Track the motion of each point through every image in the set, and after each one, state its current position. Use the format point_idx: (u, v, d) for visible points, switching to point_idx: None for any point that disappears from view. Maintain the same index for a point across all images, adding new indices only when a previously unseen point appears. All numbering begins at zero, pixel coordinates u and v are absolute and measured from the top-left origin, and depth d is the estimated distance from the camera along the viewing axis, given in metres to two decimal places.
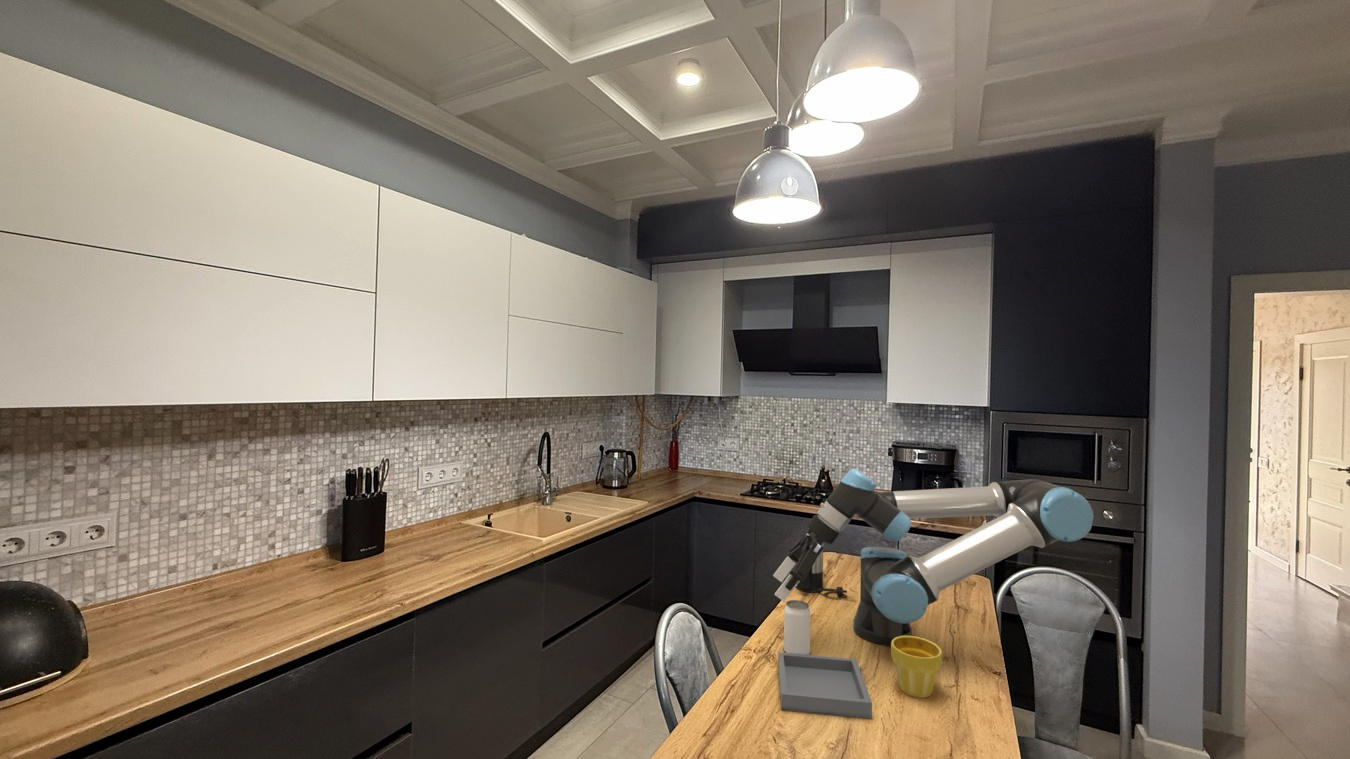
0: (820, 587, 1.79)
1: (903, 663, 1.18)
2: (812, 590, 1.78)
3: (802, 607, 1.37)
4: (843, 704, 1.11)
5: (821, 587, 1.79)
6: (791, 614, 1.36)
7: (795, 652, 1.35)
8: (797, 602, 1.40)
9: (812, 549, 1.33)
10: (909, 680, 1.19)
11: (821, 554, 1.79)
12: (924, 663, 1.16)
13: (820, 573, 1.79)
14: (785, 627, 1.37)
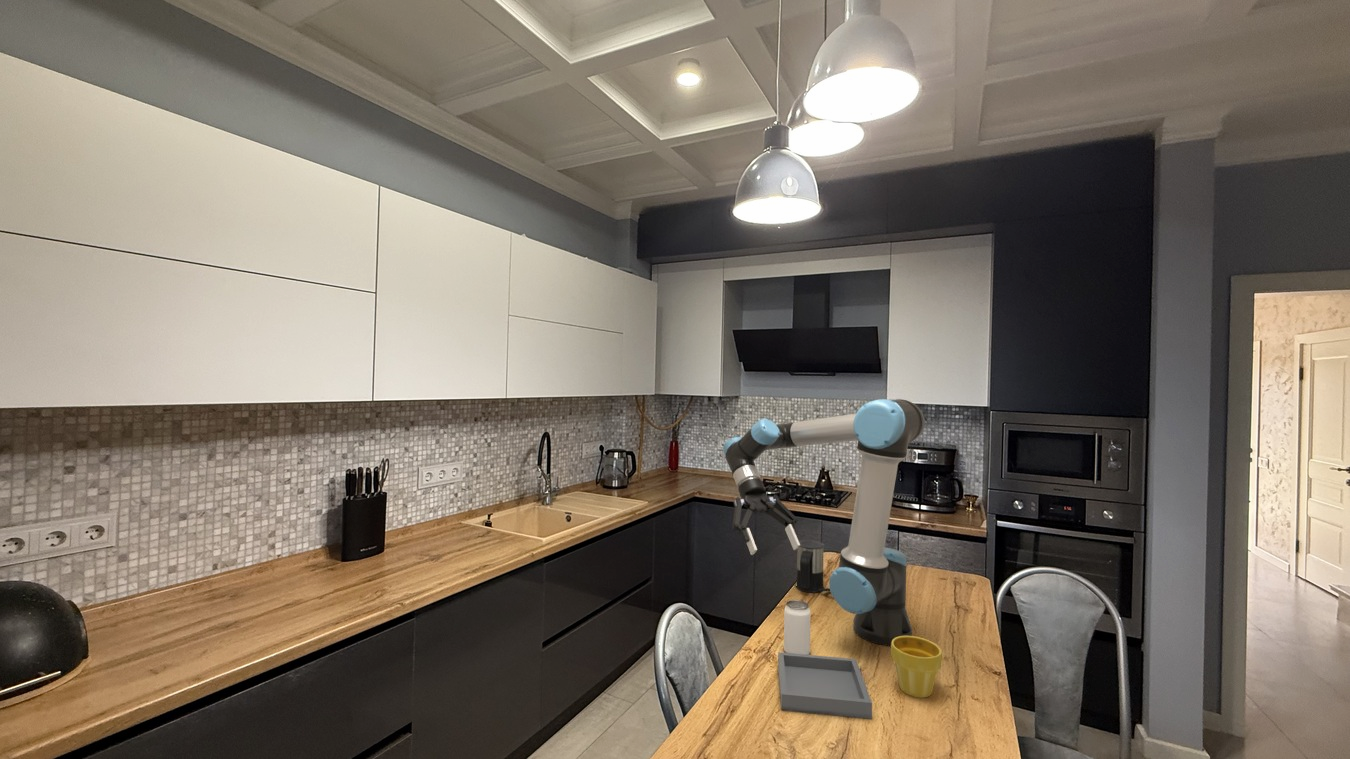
0: (820, 587, 1.79)
1: (903, 663, 1.19)
2: (812, 590, 1.78)
3: (802, 607, 1.37)
4: (843, 704, 1.11)
5: (821, 587, 1.79)
6: (791, 614, 1.36)
7: (795, 652, 1.35)
8: (797, 602, 1.40)
9: (735, 506, 1.55)
10: (909, 680, 1.19)
11: (821, 554, 1.79)
12: (924, 663, 1.16)
13: (820, 573, 1.79)
14: (785, 627, 1.37)
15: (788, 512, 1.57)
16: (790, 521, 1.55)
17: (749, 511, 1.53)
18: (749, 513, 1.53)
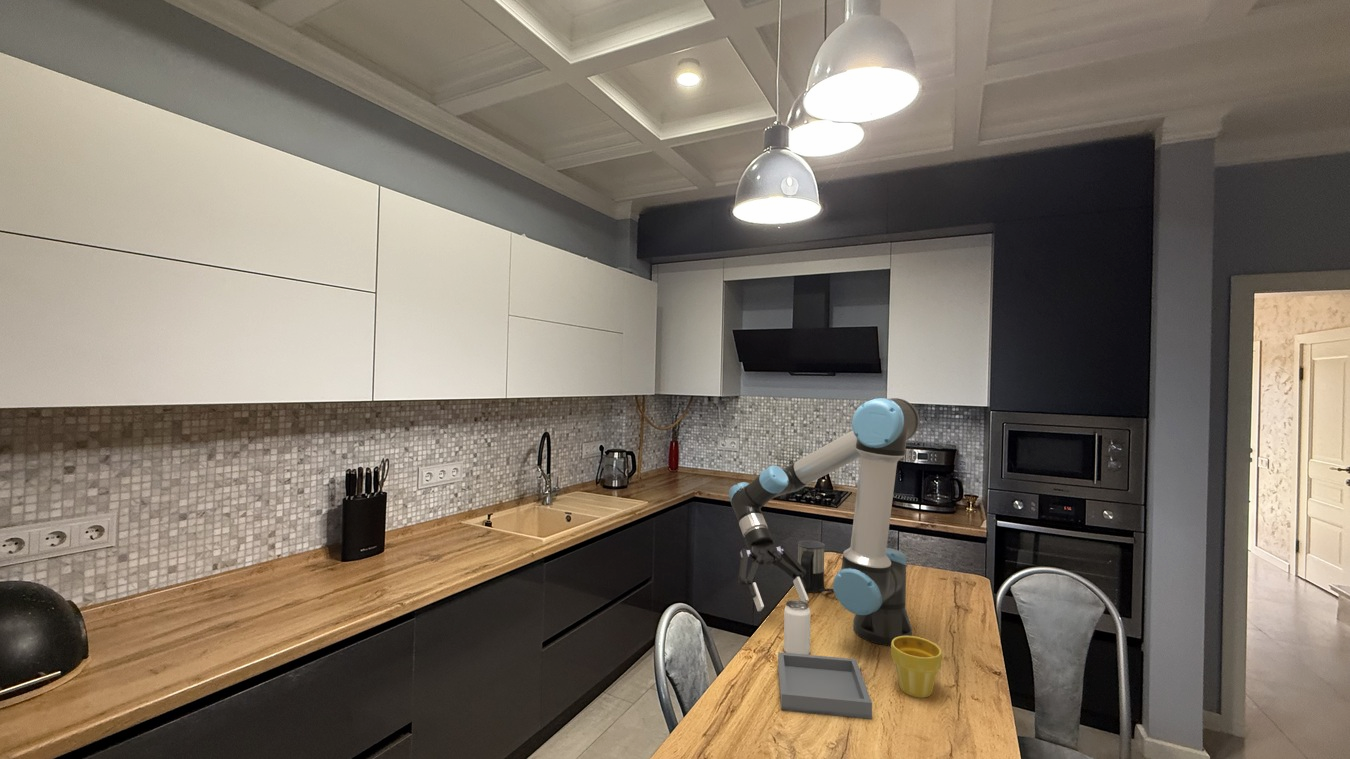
0: (821, 587, 1.79)
1: (903, 663, 1.18)
2: (813, 590, 1.78)
3: (802, 607, 1.37)
4: (843, 704, 1.11)
5: (822, 587, 1.79)
6: (791, 614, 1.36)
7: (795, 652, 1.35)
8: (797, 602, 1.40)
9: (741, 558, 1.50)
10: (909, 680, 1.19)
11: (822, 554, 1.79)
12: (924, 663, 1.16)
13: (821, 573, 1.79)
14: (785, 627, 1.37)
15: (796, 563, 1.52)
16: (798, 573, 1.49)
17: (755, 563, 1.48)
18: (755, 566, 1.48)
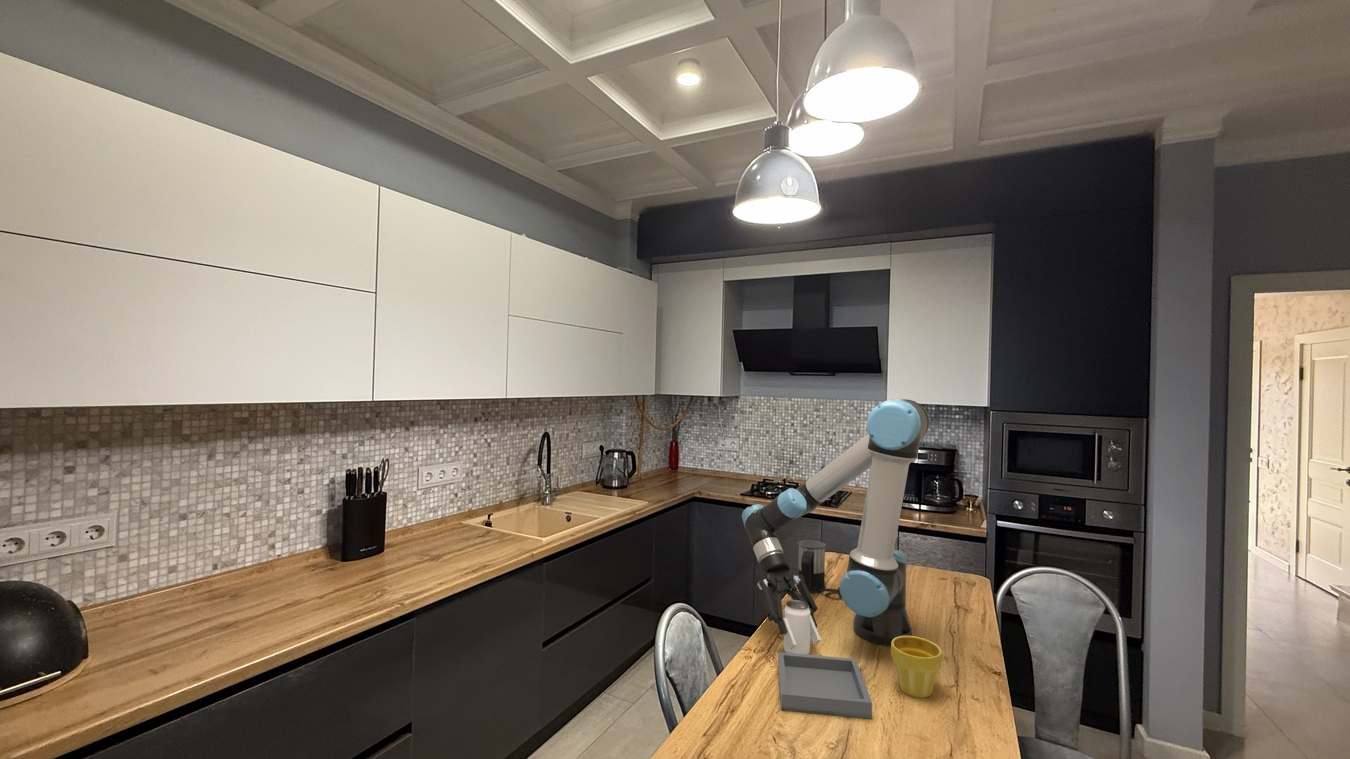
0: (822, 587, 1.79)
1: (903, 663, 1.19)
2: (814, 590, 1.78)
3: (802, 607, 1.37)
4: (843, 704, 1.11)
5: (823, 587, 1.79)
6: (791, 614, 1.36)
7: (795, 652, 1.35)
8: (797, 602, 1.40)
9: (760, 590, 1.43)
10: (909, 680, 1.19)
11: (823, 554, 1.79)
12: (924, 663, 1.16)
13: (822, 573, 1.79)
14: None
15: (809, 597, 1.43)
16: None
17: (778, 594, 1.41)
18: (779, 597, 1.41)
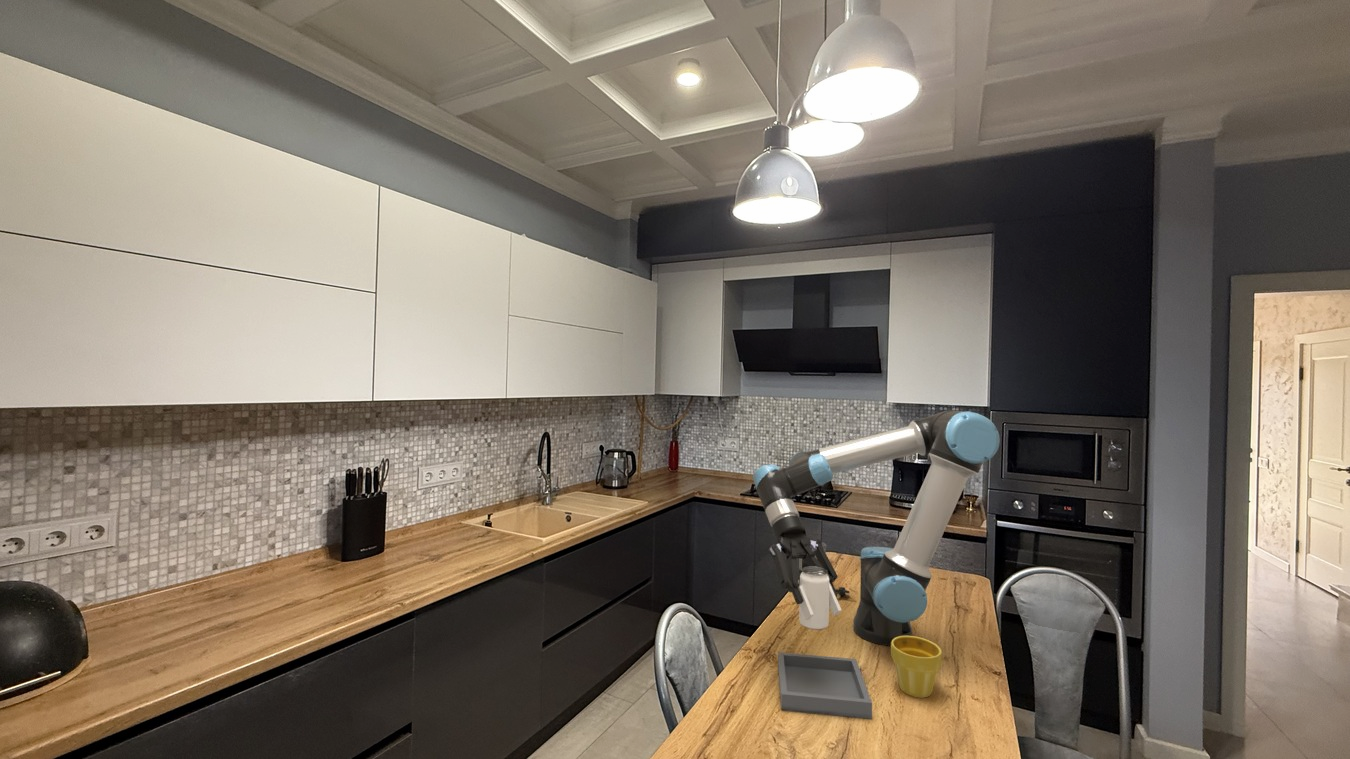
0: None
1: (903, 663, 1.18)
2: None
3: (820, 573, 1.22)
4: (843, 704, 1.11)
5: None
6: (808, 581, 1.20)
7: (812, 623, 1.20)
8: (814, 569, 1.25)
9: (773, 556, 1.28)
10: (909, 680, 1.19)
11: None
12: (924, 663, 1.16)
13: None
14: None
15: (828, 564, 1.28)
16: None
17: (793, 560, 1.26)
18: (794, 563, 1.25)
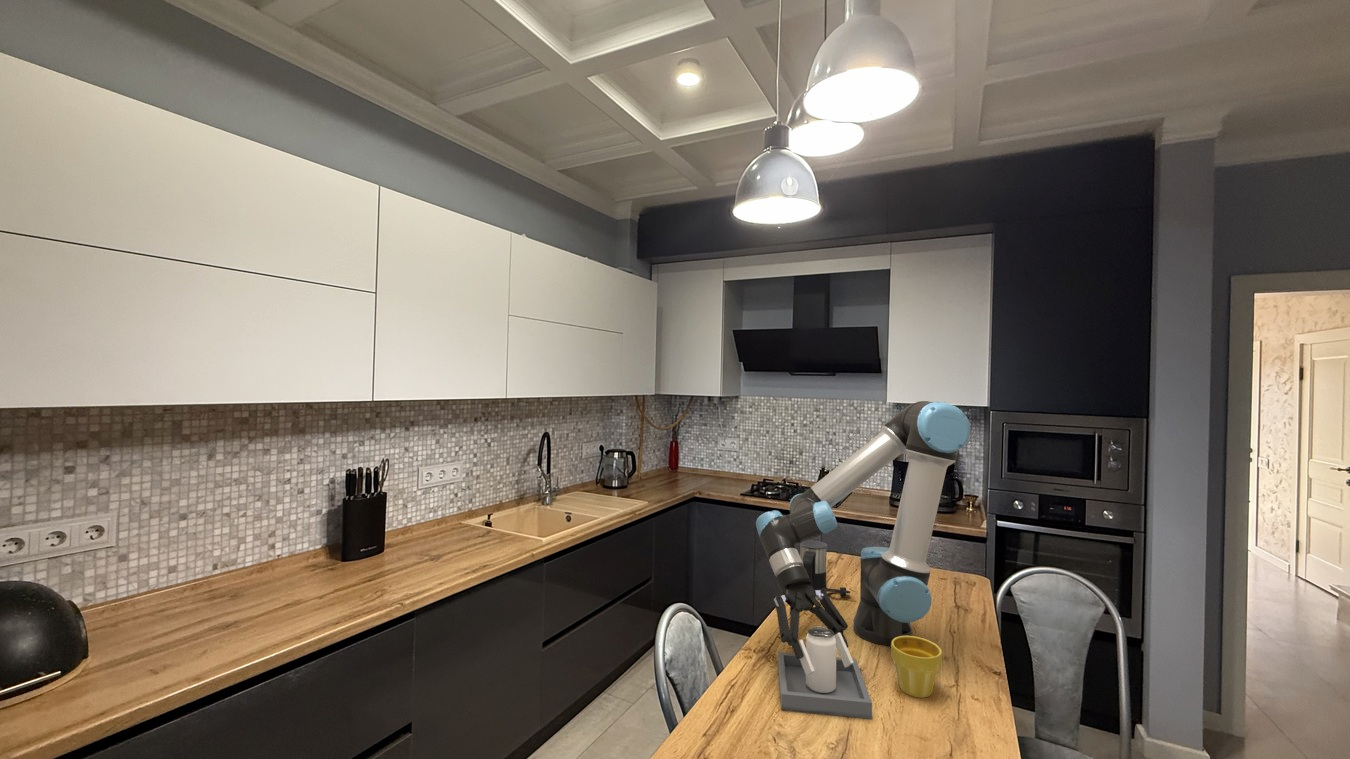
0: (823, 587, 1.79)
1: (903, 663, 1.18)
2: None
3: (827, 635, 1.20)
4: (843, 704, 1.11)
5: (824, 587, 1.79)
6: (815, 644, 1.18)
7: (819, 688, 1.18)
8: (820, 629, 1.23)
9: (776, 607, 1.26)
10: (909, 680, 1.19)
11: (824, 554, 1.79)
12: (924, 663, 1.16)
13: (823, 573, 1.79)
14: None
15: (837, 614, 1.27)
16: (839, 628, 1.24)
17: (796, 613, 1.24)
18: (797, 616, 1.23)
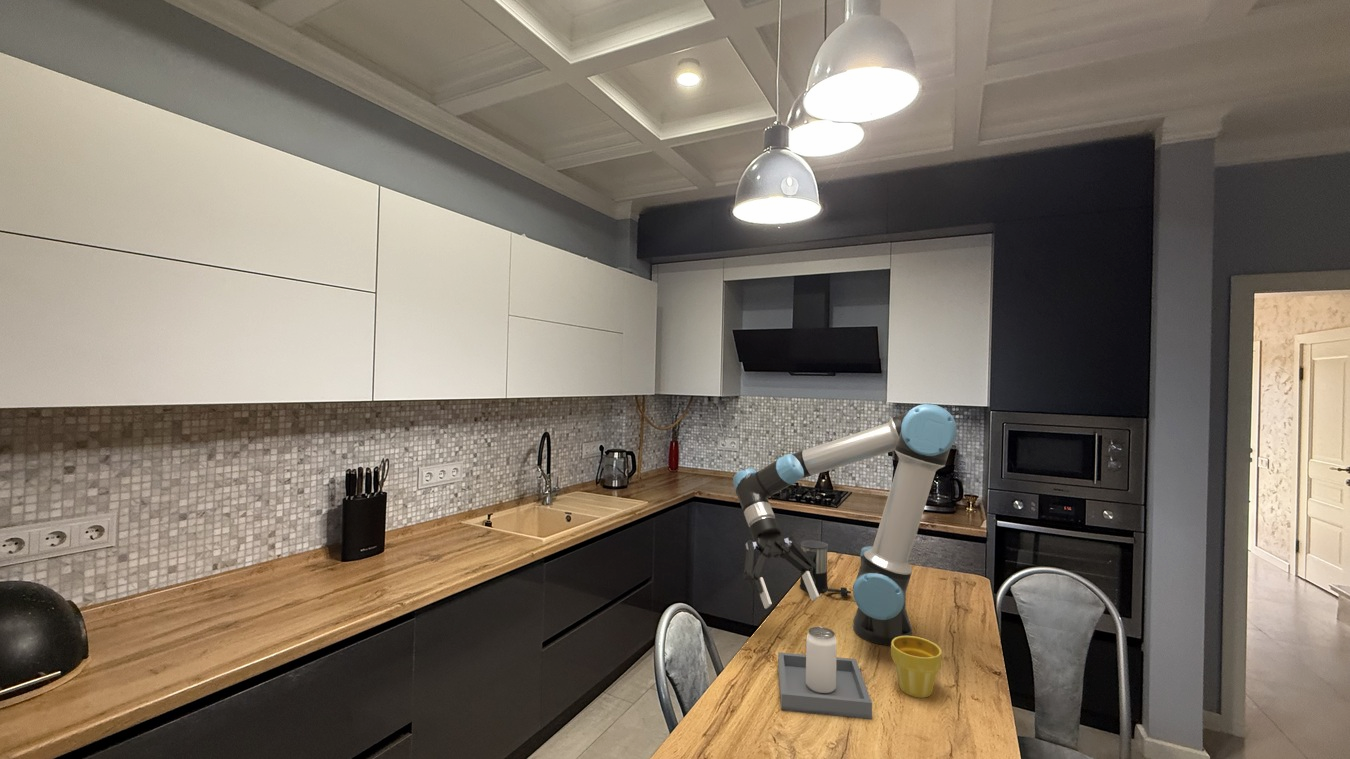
0: (824, 587, 1.78)
1: (903, 663, 1.18)
2: None
3: (827, 635, 1.20)
4: (843, 704, 1.11)
5: (825, 587, 1.79)
6: (815, 644, 1.18)
7: (819, 688, 1.18)
8: (821, 629, 1.23)
9: (746, 550, 1.39)
10: (909, 680, 1.19)
11: (825, 554, 1.79)
12: (924, 663, 1.16)
13: (824, 573, 1.79)
14: (808, 658, 1.20)
15: (805, 556, 1.41)
16: (808, 567, 1.39)
17: (762, 557, 1.37)
18: (762, 559, 1.37)
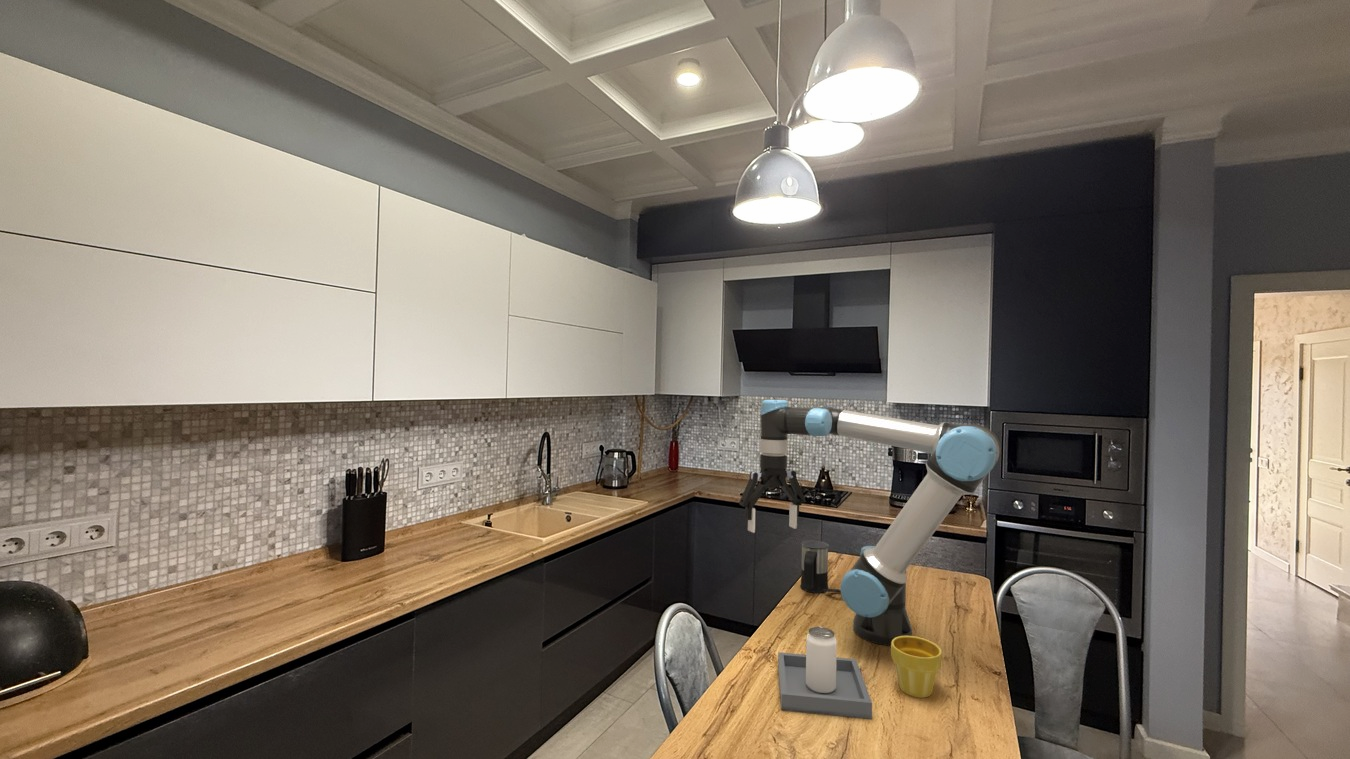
0: (825, 587, 1.78)
1: (903, 663, 1.18)
2: (816, 590, 1.77)
3: (827, 635, 1.20)
4: (843, 704, 1.11)
5: (826, 587, 1.79)
6: (815, 644, 1.18)
7: (819, 688, 1.18)
8: (821, 629, 1.23)
9: (750, 478, 1.52)
10: (909, 680, 1.19)
11: (826, 554, 1.79)
12: (924, 663, 1.16)
13: (825, 573, 1.79)
14: (808, 658, 1.20)
15: (799, 492, 1.56)
16: (797, 502, 1.56)
17: (762, 490, 1.51)
18: (761, 492, 1.51)
